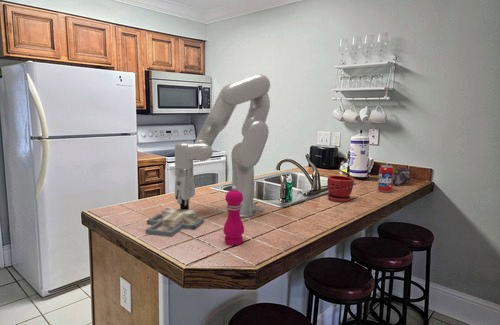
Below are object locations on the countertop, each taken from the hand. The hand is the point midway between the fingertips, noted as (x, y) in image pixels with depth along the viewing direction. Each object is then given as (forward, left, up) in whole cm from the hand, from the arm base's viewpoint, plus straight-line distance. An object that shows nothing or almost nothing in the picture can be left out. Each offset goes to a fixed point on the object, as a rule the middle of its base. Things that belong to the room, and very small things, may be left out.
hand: (184, 214), depth 140 cm
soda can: (-90, -78, -1) cm, 119 cm away
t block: (-1, +9, -1) cm, 9 cm away
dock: (0, +13, -1) cm, 13 cm away
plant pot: (-64, -50, -2) cm, 82 cm away
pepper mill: (-28, +20, -1) cm, 34 cm away
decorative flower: (-101, -102, -2) cm, 144 cm away
